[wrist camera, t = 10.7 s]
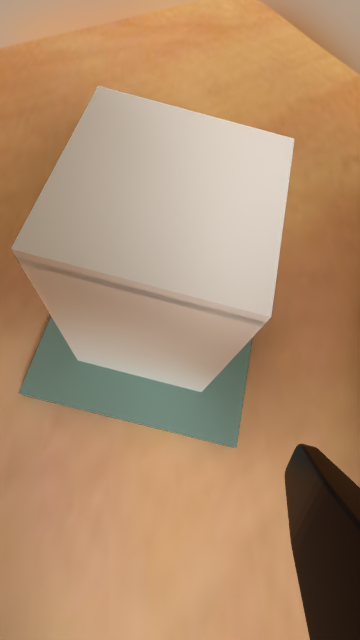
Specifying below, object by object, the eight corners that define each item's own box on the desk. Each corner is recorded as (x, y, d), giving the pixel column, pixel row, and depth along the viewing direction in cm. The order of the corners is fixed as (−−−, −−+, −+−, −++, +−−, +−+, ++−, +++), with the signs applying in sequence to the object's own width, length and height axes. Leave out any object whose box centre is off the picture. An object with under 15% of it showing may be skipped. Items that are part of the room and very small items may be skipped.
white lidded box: (201, 392, 16) (271, 317, 7) (77, 360, 16) (10, 248, 7) (223, 284, 18) (294, 138, 10) (116, 256, 18) (98, 85, 10)
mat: (233, 447, 16) (236, 447, 15) (22, 395, 15) (18, 392, 15) (259, 269, 20) (263, 264, 19) (93, 226, 19) (92, 219, 19)
